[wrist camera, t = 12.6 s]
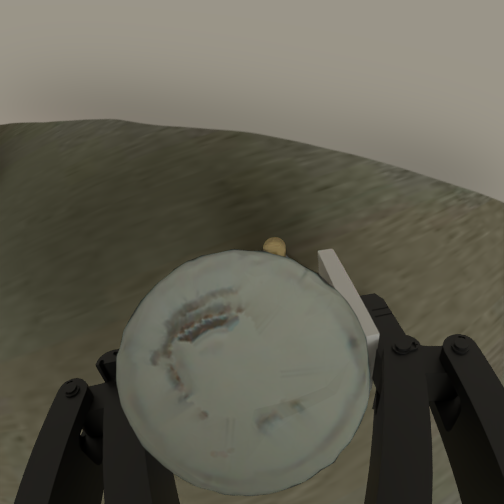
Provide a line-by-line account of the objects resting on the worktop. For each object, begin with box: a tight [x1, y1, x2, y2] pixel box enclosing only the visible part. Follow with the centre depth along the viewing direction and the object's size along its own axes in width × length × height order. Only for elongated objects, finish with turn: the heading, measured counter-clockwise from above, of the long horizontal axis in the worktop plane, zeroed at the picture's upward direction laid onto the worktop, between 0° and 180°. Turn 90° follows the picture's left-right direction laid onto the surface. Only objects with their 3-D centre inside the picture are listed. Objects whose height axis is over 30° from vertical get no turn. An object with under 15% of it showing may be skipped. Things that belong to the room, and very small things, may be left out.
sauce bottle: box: [116, 249, 371, 496], centre depth 14 cm, size 7×6×20 cm
